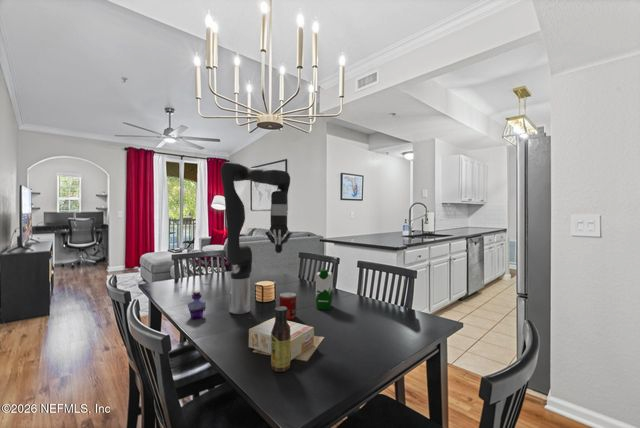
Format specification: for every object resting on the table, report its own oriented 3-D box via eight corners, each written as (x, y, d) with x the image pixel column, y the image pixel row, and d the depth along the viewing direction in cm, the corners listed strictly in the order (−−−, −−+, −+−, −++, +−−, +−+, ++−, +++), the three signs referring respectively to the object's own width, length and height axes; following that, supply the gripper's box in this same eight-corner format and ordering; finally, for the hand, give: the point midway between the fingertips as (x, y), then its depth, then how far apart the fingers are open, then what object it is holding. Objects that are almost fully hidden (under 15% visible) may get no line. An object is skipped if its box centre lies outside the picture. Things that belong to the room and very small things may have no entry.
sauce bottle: (271, 363, 103) (272, 304, 103) (290, 362, 103) (290, 304, 103) (270, 374, 96) (270, 311, 96) (290, 373, 97) (290, 310, 97)
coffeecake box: (248, 347, 114) (290, 361, 104) (248, 328, 114) (290, 340, 104) (274, 334, 127) (314, 345, 116) (274, 316, 126) (314, 326, 116)
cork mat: (252, 352, 111) (252, 351, 111) (276, 331, 130) (276, 330, 130) (307, 361, 105) (307, 360, 105) (324, 337, 124) (324, 337, 124)
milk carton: (314, 309, 158) (315, 271, 158) (316, 304, 167) (316, 267, 167) (331, 310, 157) (332, 271, 157) (332, 304, 166) (333, 268, 166)
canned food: (293, 320, 142) (293, 297, 142) (277, 319, 144) (277, 296, 144) (298, 315, 150) (298, 292, 150) (282, 314, 152) (282, 291, 151)
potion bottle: (209, 317, 146) (209, 292, 146) (191, 322, 140) (191, 295, 140) (201, 312, 152) (201, 288, 152) (183, 317, 146) (183, 292, 146)
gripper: (261, 214, 137) (261, 253, 138) (289, 214, 133) (288, 254, 134) (269, 214, 144) (269, 250, 145) (295, 214, 140) (295, 252, 141)
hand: (278, 252), depth 139 cm, fingers closed
